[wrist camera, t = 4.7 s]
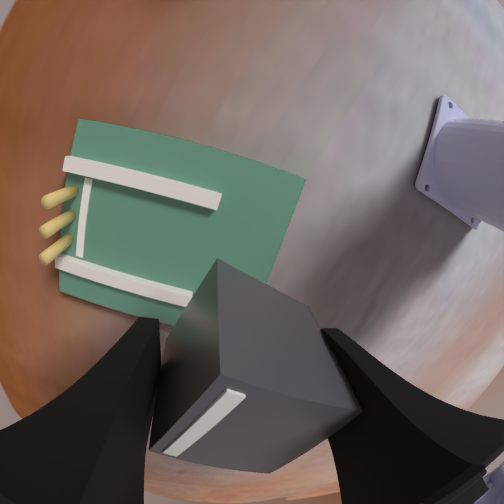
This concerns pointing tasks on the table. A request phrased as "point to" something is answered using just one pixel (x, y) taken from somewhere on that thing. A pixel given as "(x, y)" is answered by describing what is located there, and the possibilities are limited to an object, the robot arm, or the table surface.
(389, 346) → the table surface
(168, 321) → the header board
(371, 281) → the table surface
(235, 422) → the plug
